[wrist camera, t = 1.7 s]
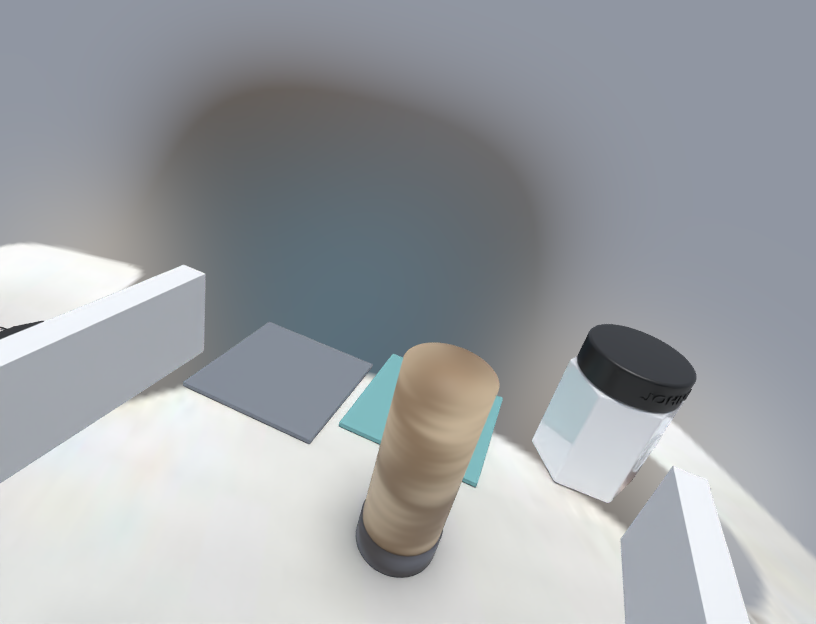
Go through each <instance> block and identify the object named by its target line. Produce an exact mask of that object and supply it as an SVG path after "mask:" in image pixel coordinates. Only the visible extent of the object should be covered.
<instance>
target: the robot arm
mask: <svg viewBox="0 0 816 624" xmlns="http://www.w3.org/2000/svg"><path fill="white" fill-rule="evenodd" d="M204 316H205V273H202V272H200V271H197V270H195V269H193V268H190V267H188V266H185V265H182V266H180V267H178V268H175V269H172V270H170V271H167V272H165V273H162V274H160V275H158V276H155V277H153V278H150V279H148V280H145V281H143V282H140V283H138V284H135V285H133V286H131V287H128V288H126V289H123V290H121V291H118V292H116V293H113V294H111V295H108V296H106V297H104V298H101V299H99V300H96V301H94V302H91V303H89V304H86V305H84V306H81V307H79V308H76V309H74V310H72V311H69V312H67V313H64V314H62V315H59V316H57V317H54V318H52V319H49V320H47V321H39V322H34V323H29V324H24V325H19V326H14V327H11V328H9V329H6V330H4V331H1V332H0V483H1V482H3V481H4V480H6V479H8V478H9V477H11V476H12V475H14V474H15V473H17V472H18V471H20V470H21V469H23V468H25V467H26V466H28V465H29V464H31V463H32V462H34V461H35V460H37V459H38V458H40V457H41V456H43V455H45V454H46V453H48V452H49V451H51V450H52V449H54V448H55V447H57V446H58V445H60V444H62V443H63V442H65V441H66V440H68V439H69V438H71V437H72V436H74V435H75V434H77V433H78V432H80V431H82V430H83V429H85V428H86V427H88V426H89V425H91V424H92V423H94V422H95V421H97V420H99V419H100V418H102V417H103V416H105V415H106V414H108V413H109V412H111V411H112V410H114V409H115V408H117V407H119V406H120V405H122V404H123V403H125V402H126V401H128V400H129V399H131V398H132V397H134V396H136V395H137V394H139V393H140V392H142V391H143V390H144V389H146V388H147V387H149V386H151V385H152V384H154V383H156V382H157V381H159V380H160V379H162V378H163V377H165V376H166V375H168V374H169V373H171V372H173V371H174V370H176V369H177V368H179V367H180V366H182V365H183V364H185V363H186V362H188V361H189V360H191V359H193V358H194V357H196V356H197V355H199V354H200V353H202V352H203V351H204V318H205V317H204ZM621 556H622V573H623V590H624V607H625V624H750V622H749V618H748V615H747V612H746V608H745V605H744V602H743V599H742V595H741V592H740V588H739V585H738V581H737V578H736V574H735V571H734V568H733V564H732V561H731V558H730V554H729V551H728V547H727V544H726V541H725V537H724V534H723V530H722V527H721V524H720V520H719V517H718V514H717V510H716V507H715V503H714V500H713V497H712V493H711V490H710V487H709V483H708V480H707V479H704V478H702V477H699V476H697V475H695V474H692V473H690V472H687V471H685V470H682V469H680V468H677V467H675V466H673V467H672V468H671V469H670V471H669V472H668V474H667V475H666V476H665V478H664V479H663V481H662V482H661V483H660V485H659V486H658V488H657V489H656V490H655V492H654V493H653V495H652V496H651V497H650V499H649V500H648V502H647V503H646V504H645V506H644V507H643V508H642V510H641V511H640V513H639V514H638V516H637V517H636V518H635V520H634V521H633V522H632V524H631V525H630V527H629V528H628V529H627V531H626V532H625V534H624V535H623V536H622V538H621Z"/></svg>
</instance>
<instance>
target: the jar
mask: <svg viewBox="0 0 816 624" xmlns="http://www.w3.org/2000/svg"><path fill="white" fill-rule="evenodd" d="M695 382H696V373H695V370H694V368H693V367H692V365H691V364H690V363H689V361H688V360H687V359H686V358H685V357H684V356H683V355H681V354H680V353H679V352H678V351H676V350H675V349H674V348H672V347H671V346H669V345H668V344H666V343H664V342H662V341H661V340H659V339H657V338H655V337H653V336H651V335H648V334H646V333H644V332H641V331H638V330H635V329H632V328H629V327H625V326H620V325H613V324H602V325H597V326H595V327H593V328H592V329H591V330H590V331H589V333H588V335H587V337H586V339H585V341H584V343H583V345H582V348H581V349H580V352H579V354H578V356H576V357H574V358H572V359H571V360H570V362H569V364H568V366H567V368H566V370H565V372H564V374H563V376H562V378H561V380H560V382H559V385H558V387H557V389H556V391H555V393H554V395H553V397H552V400H551V402H550V403H549V406H548V408H547V410H546V412H545V414H544V416H543V418H542V420H541V422H540V424H539V427H538V429H537V431H536V433H535V435H534V437H533V439H532V442H533V444H534V446H535V447H536V449H537V451H538V453H539V455H540V456H541V458H542V460H543V462H544V464H545V466H546V467H547V469H548V471H549V473H550V475H551V476H552V478H553V480H554V481H555V482H557V483H559V484H562V485H564V486H566V487H569V488H571V489H574V490H576V491H579V492H581V493H584V494H586V495H589V496H591V497H593V498H596V499H599V500H601V501H603V502H606V503H610V502H611V501H612V500H613V499H614V498H615V497H616V496H617V495H618V494H619V493H620V492H621V491H622V490H623V489H624V488H625V487H626V486H627V485H628V484H629V483H630V482H631V481H632V480H633V478H634V477H635V475H636V474H637V472H638V471H639V469H640V468H641V466H642V465H643V463H644V462H645V460H646V459H647V457H648V456H649V454H650V453H651V452H652V451H653V449H654V448H655V446H656V445H657V444H658V442H659V440H660V439H661V436H662V434H663V433H664V431H665V430H666V428H667V427H668V425H669V424H670V422H671V421H672V419H673V418H674V416H675V414H676V413H677V412H678V410H679V408H680V407H681V405H682V404H683V402H684V401H685V400H686V398H687V397H688V395H689V393H690V392H691V390H692V389H691V388H692V386H693V385H694V384H695Z"/></svg>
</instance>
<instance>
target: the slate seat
mask: <svg viewBox="0 0 816 624" xmlns="http://www.w3.org/2000/svg"><path fill="white" fill-rule="evenodd" d="M371 368H372V364H371V363H368V362H366V361H363V360H361V359H359V358H356V357H354V356H351V355H349V354H346V353H344V352H341V351H339V350H336V349H334V348H332V347H329V346H327V345H324V344H322V343H320V342H317V341H315V340H312V339H310V338H307V337H305V336H303V335H300V334H297V333H295V332H293V331H290V330H288V329H286V328H283V327H280V326H278V325H276V324H273V323H271V322H268V323H267V324H265V325H264V326H263V327H261V328H260V329H258V330H257V331H256V332H254V333H252V334H251V335H250V336H248V337H247V338H245V339H244V340H242V341H241V342H240V343H238V344H237V345H235V346H234V347H232V348H231V349H230V350H228V351H227V352H225V353H224V354H222V355H221V356H220V357H218V358H217V359H215V360H214V361H213V362H211V363H210V364H208V365H207V366H205V367H204V368H202V369H201V370H199V371H198V372H197V373H195V374H194V375H192V376H191V377H189V378H188V379H187V380H185V381H184V382H183V386H185V387H187V388H190V389H192V390H194V391H196V392H198V393H200V394H202V395H205V396H207V397H209V398H211V399H213V400H215V401H218V402H220V403H222V404H224V405H226V406H228V407H230V408H233V409H235V410H237V411H239V412H241V413H243V414H246V415H248V416H250V417H252V418H254V419H256V420H258V421H261V422H263V423H265V424H267V425H269V426H271V427H274V428H276V429H278V430H280V431H282V432H284V433H287V434H289V435H291V436H293V437H295V438H297V439H299V440H302V441H304V442H306V443H308V444H310V443H311V442H312V440H313V439H314V438H315V437H316V436H317V434H318V433H319V432H320V431H321V429H322V428H323V427H324V426H325V424H326V423H327V422H328V421H329V420H330V418H331V417H332V416H333V415H334V413H335V412H336V411H337V410H338V409H339V407H340V406H341V405H342V404H343V402H344V401H345V400H346V399H347V398H348V396H349V395H350V394H351V393H352V391H353V390H354V389H355V388H356V386H357V385H358V384H359V383H360V382H361V380H362V379H363V378H364V377H365V375H366V374H367V373H368V372H369V370H370V369H371Z"/></svg>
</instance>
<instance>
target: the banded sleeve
mask: <svg viewBox="0 0 816 624" xmlns="http://www.w3.org/2000/svg"><path fill="white" fill-rule="evenodd" d="M498 390H499V380H498V377H497V375H496V373H495V372H494V370H493V369H492V368H491V366H490V365H489V364H487V363H486V362H485V361H484V360H483V359H481V358H480V357H479V356H477V355H475V354H474V353H472V352H470V351H468V350H465V349H463V348H460V347H457V346H454V345H450V344H444V343H424V344H419V345H417V346H414V347H412V348H411V349H409V350H408V351H407V352H406V353H405V355H404V357H403V360H402V364H401V368H400V372H399V376H398V379H397V383H396V387H395V391H394V395H393V398H392V402H391V406H390V410H389V414H388V417H387V421H386V425H385V429H384V432H383V436H382V440H381V444H380V448H379V451H378V455H377V459H376V463H375V467H374V470H373V474H372V478H371V482H370V486H369V489H368V493H367V497H366V499H365V501H364V503H363V506H362V510H361V514H360V517H359V521H358V525H357V530H356V541H357V545H358V549H359V551H360V553H361V555H362V556H363V558H364V559H365V560H366V562H367V563H368V564H369V565H370V566H371V567H373V568H374V569H375V570H377V571H379V572H380V573H383V574H385V575H388V576H392V577H409V576H413V575H416V574H418V573H420V572H421V571H423V570H424V569H425V568H426V567H427V566H428V565H429V564H430V562H431V560H432V558H433V556H434V554H435V551H436V549H437V546H438V544H439V541H440V539H441V536H442V532H443V527H444V525H445V522H446V520H447V517H448V515H449V512H450V510H451V507H452V505H453V502H454V500H455V497H456V495H457V492H458V490H459V487H460V485H461V482H462V480H463V477H464V475H465V472H466V470H467V467H468V465H469V462H470V460H471V457H472V455H473V453H474V450H475V448H476V445H477V443H478V440H479V438H480V435H481V433H482V430H483V428H484V425H485V423H486V420H487V418H488V415H489V413H490V410H491V408H492V405H493V403H494V400H495V398H496V395H497V393H498Z"/></svg>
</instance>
